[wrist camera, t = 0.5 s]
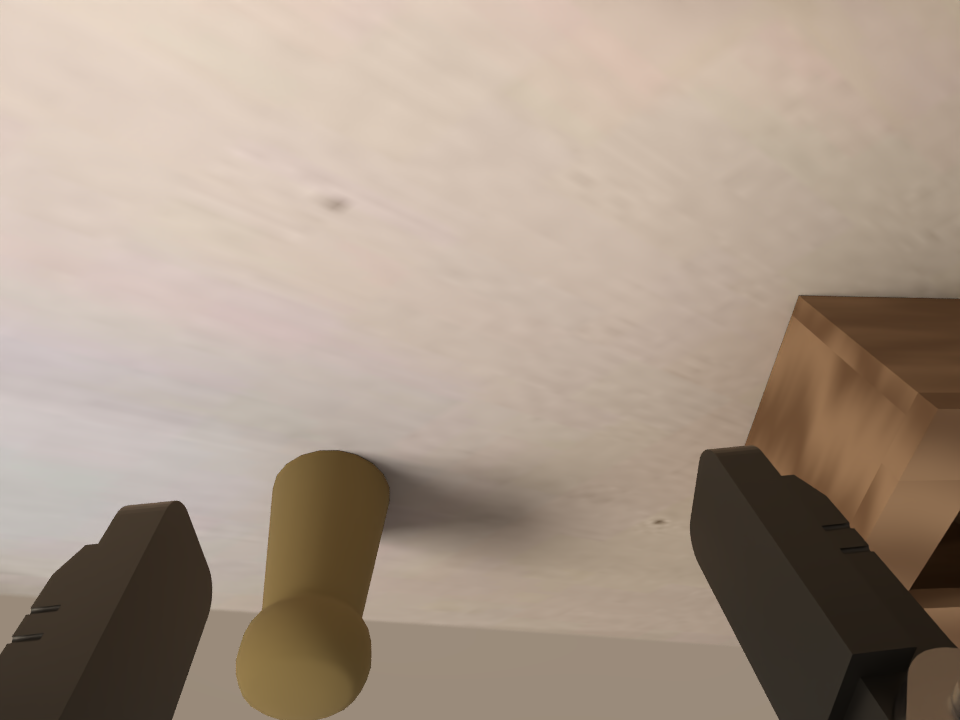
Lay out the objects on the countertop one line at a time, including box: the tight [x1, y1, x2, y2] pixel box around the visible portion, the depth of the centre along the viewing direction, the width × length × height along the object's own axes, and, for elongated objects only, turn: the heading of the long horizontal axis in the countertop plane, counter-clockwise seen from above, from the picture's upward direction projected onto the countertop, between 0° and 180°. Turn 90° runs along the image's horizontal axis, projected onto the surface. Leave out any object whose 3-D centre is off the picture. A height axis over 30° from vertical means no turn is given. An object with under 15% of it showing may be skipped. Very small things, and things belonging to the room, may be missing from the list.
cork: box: [236, 451, 390, 720], centre depth 28 cm, size 6×6×11 cm
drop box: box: [745, 296, 960, 649], centre depth 29 cm, size 14×14×9 cm
